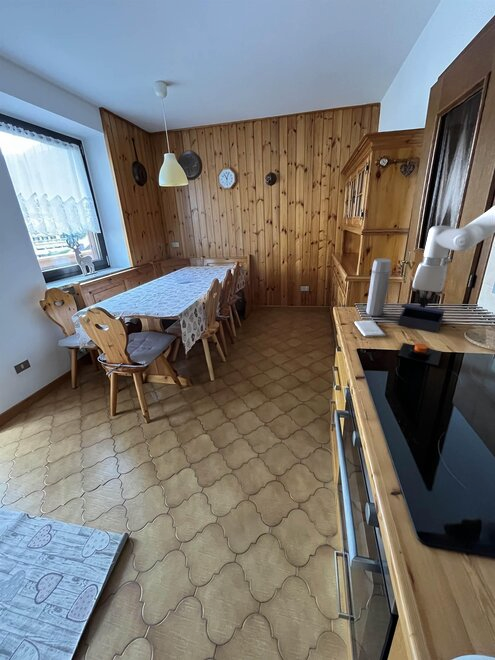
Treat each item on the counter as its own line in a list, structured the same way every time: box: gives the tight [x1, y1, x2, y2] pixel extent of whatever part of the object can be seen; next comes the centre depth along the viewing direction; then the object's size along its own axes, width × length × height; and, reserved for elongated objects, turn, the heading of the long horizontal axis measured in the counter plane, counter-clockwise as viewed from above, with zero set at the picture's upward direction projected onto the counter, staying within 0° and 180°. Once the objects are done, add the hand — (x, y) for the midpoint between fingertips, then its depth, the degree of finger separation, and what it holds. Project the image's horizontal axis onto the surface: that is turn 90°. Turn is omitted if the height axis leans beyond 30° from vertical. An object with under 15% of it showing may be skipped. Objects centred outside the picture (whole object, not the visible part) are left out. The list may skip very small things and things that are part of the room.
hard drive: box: [354, 320, 386, 338], centre depth 117 cm, size 2×8×12 cm
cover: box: [401, 302, 446, 314], centre depth 118 cm, size 14×15×1 cm
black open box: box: [397, 308, 445, 334], centre depth 120 cm, size 14×15×4 cm
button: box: [414, 343, 429, 353], centre depth 97 cm, size 4×4×2 cm
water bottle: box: [365, 258, 393, 317], centre depth 125 cm, size 9×8×25 cm
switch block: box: [397, 342, 442, 368], centre depth 98 cm, size 12×10×3 cm
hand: (422, 306), depth 114 cm, fingers closed
